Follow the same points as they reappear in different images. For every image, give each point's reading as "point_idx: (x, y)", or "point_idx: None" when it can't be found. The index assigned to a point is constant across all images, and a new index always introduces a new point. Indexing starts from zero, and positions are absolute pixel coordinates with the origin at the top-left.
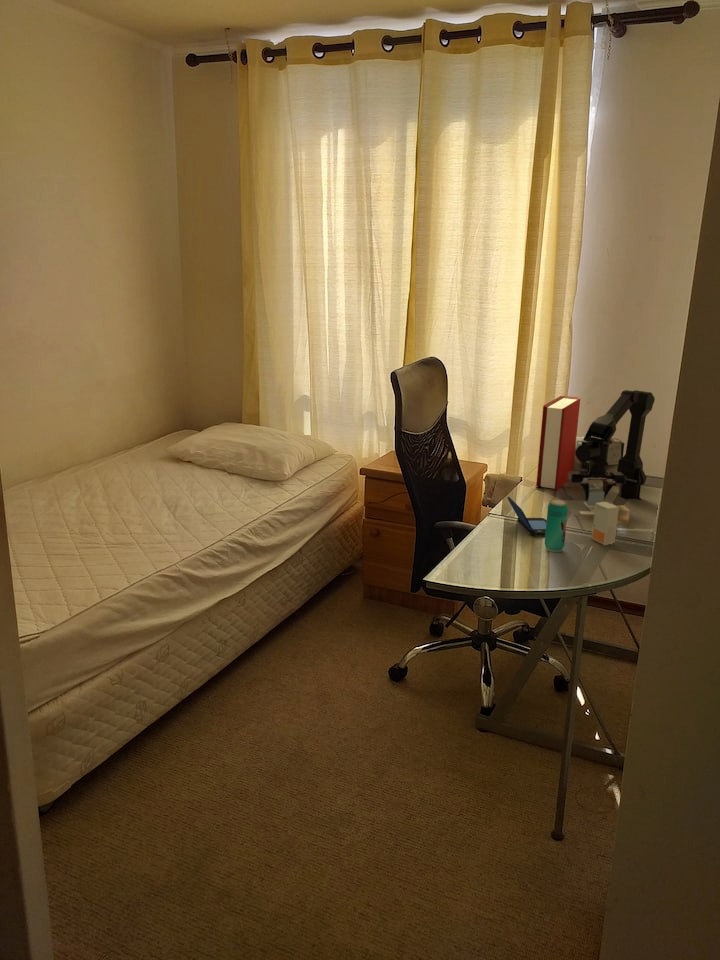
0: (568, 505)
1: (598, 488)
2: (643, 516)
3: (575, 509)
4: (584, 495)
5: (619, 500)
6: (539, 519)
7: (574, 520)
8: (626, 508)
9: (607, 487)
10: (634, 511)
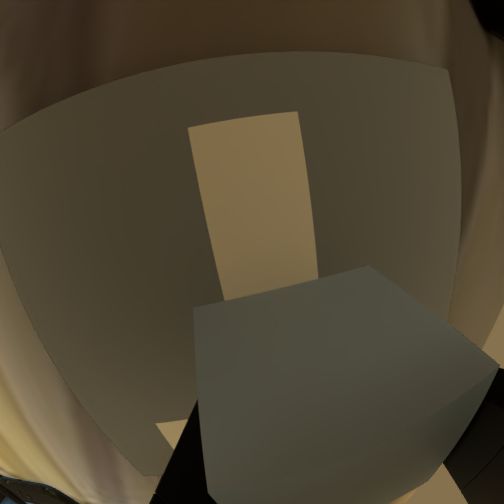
0: (46, 312)
1: (464, 403)
2: (491, 316)
3: (123, 398)
4: (182, 443)
5: (469, 30)
6: (47, 501)
7: (155, 486)
8: (409, 495)
9: (473, 502)
10: (497, 249)
